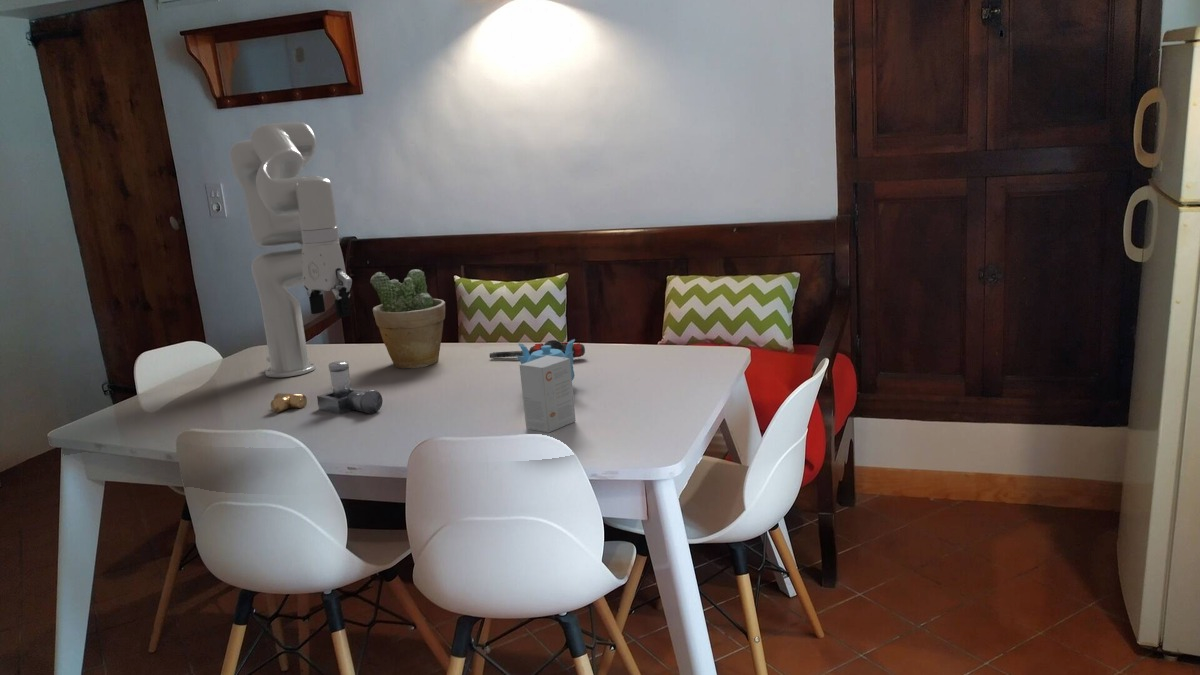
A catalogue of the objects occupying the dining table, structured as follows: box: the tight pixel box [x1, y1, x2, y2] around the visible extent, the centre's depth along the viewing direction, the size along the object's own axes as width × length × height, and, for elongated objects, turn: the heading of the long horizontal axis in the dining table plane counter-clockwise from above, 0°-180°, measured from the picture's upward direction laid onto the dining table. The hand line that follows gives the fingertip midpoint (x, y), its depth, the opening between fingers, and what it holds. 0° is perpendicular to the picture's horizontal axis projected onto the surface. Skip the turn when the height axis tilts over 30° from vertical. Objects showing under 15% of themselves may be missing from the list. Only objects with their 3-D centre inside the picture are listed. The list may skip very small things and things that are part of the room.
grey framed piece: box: [316, 387, 383, 415], centre depth 205 cm, size 15×8×5 cm, turn 50°
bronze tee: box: [270, 392, 308, 414], centre depth 210 cm, size 7×6×3 cm
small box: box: [519, 356, 576, 434], centre depth 182 cm, size 8×6×13 cm
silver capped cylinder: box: [328, 360, 352, 399], centre depth 207 cm, size 4×4×10 cm
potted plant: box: [369, 269, 446, 369], centre depth 241 cm, size 18×19×25 cm
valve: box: [489, 339, 586, 359], centre depth 240 cm, size 6×26×15 cm
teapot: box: [516, 338, 576, 381], centre depth 208 cm, size 13×13×10 cm
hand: (331, 314), depth 204 cm, fingers open, 9 cm apart
